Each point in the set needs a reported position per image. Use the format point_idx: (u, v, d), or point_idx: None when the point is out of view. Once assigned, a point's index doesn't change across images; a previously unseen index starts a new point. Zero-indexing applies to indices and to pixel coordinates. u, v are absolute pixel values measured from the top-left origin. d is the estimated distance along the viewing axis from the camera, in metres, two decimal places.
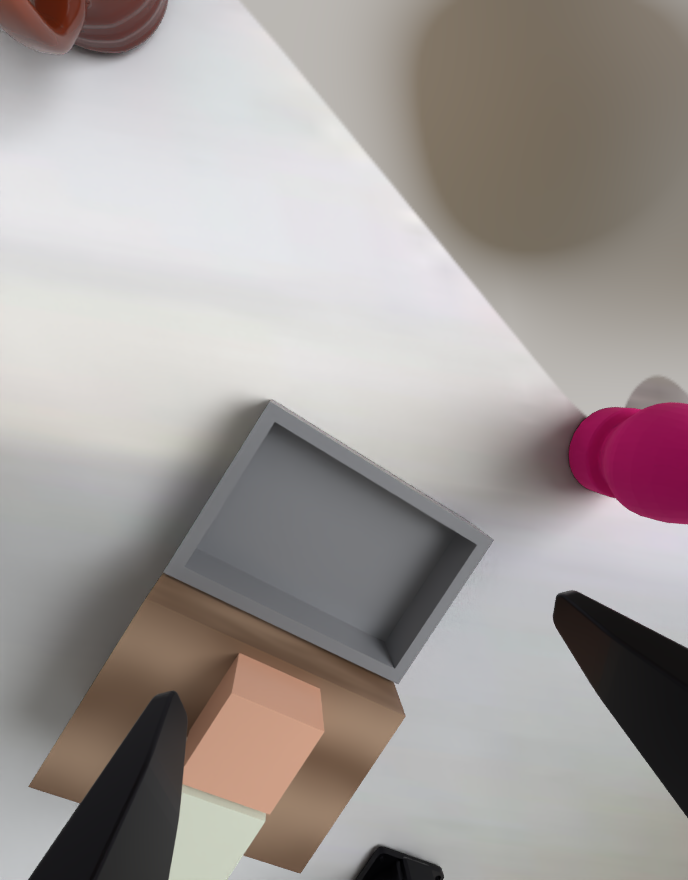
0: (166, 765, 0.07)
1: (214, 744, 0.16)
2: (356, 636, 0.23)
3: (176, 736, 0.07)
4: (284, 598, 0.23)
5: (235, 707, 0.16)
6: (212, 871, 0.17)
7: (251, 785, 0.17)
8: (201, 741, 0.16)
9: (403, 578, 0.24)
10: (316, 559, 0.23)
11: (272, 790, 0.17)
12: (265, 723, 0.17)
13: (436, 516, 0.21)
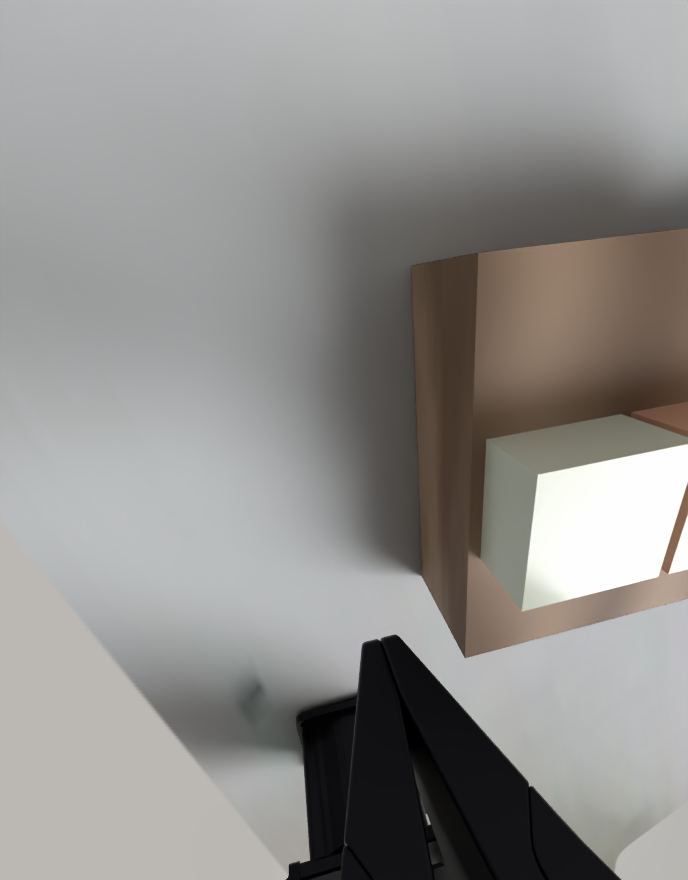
0: None
1: None
2: None
3: None
4: None
5: None
6: (570, 579, 0.11)
7: None
8: None
9: None
10: None
11: None
12: None
13: None
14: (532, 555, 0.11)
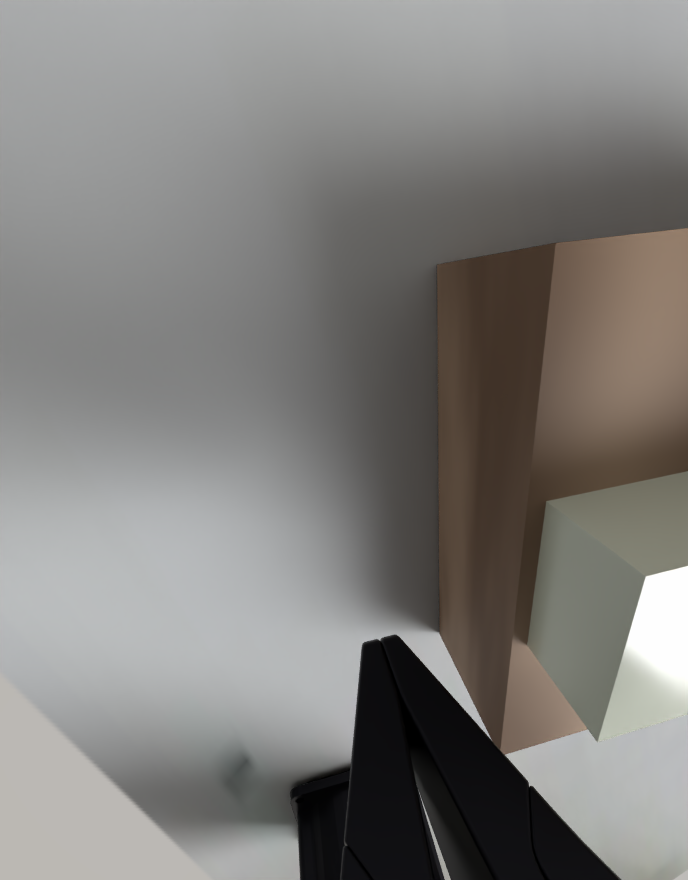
0: None
1: None
2: None
3: None
4: None
5: None
6: (667, 699, 0.08)
7: None
8: None
9: None
10: None
11: None
12: None
13: None
14: (622, 676, 0.07)
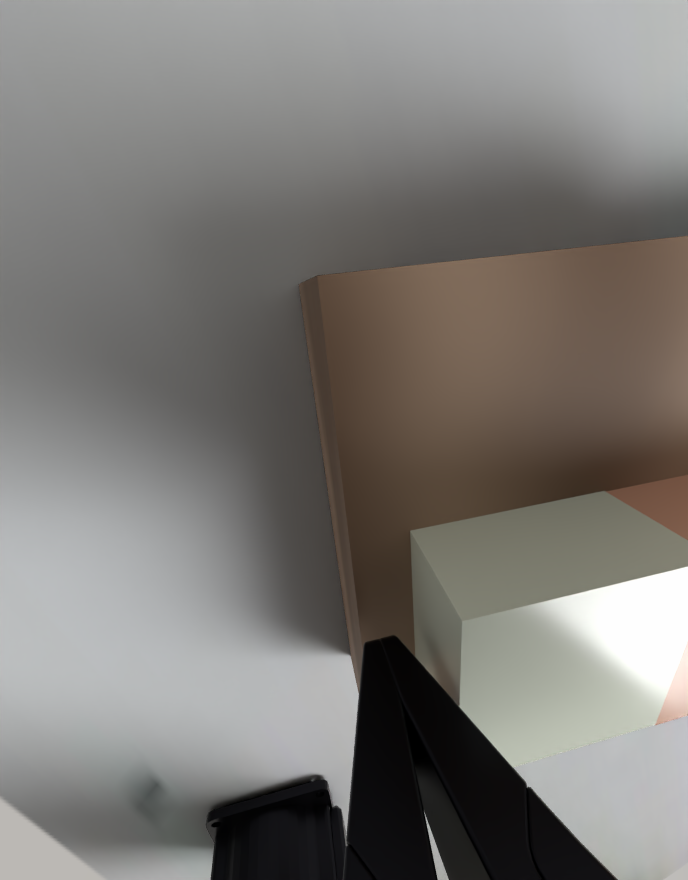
0: None
1: None
2: None
3: None
4: None
5: None
6: (527, 740, 0.08)
7: None
8: None
9: None
10: None
11: None
12: None
13: None
14: None
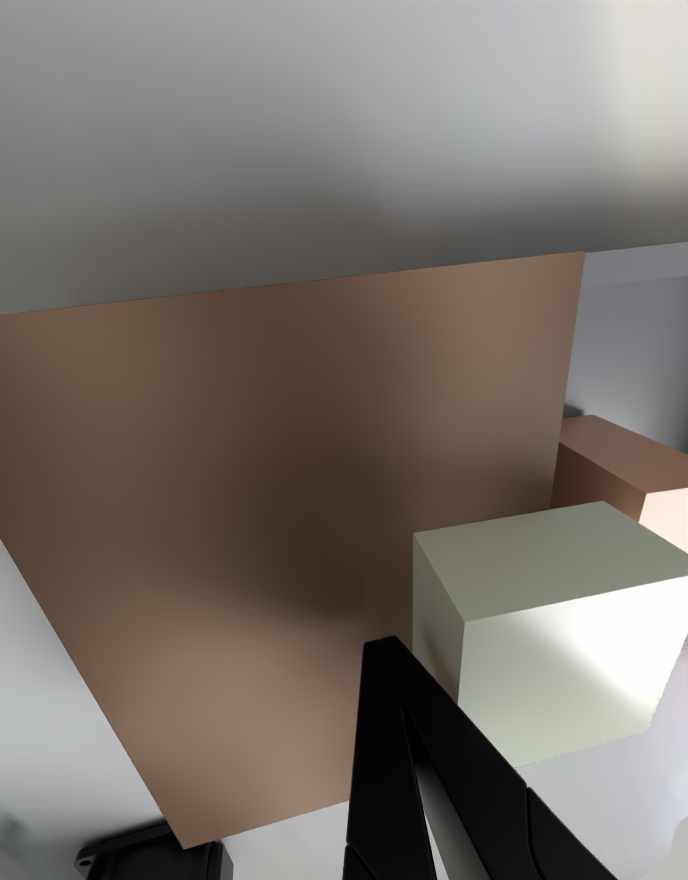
0: None
1: None
2: None
3: None
4: None
5: None
6: (521, 743, 0.08)
7: None
8: (660, 444, 0.11)
9: None
10: None
11: None
12: None
13: None
14: None
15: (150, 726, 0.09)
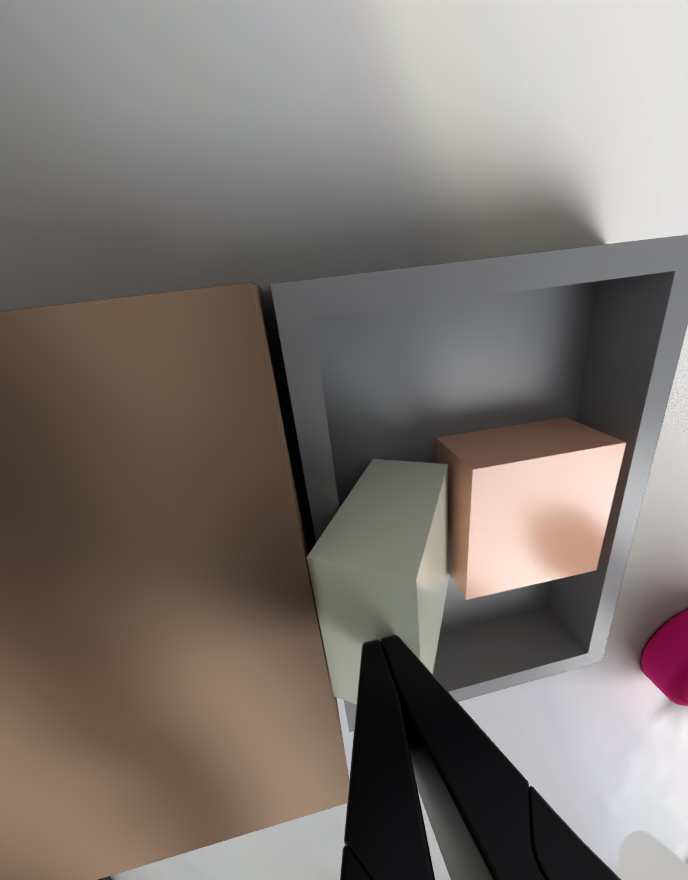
0: None
1: None
2: None
3: None
4: None
5: None
6: (432, 647, 0.10)
7: None
8: (507, 427, 0.13)
9: (451, 607, 0.16)
10: None
11: None
12: None
13: (606, 591, 0.14)
14: None
15: None
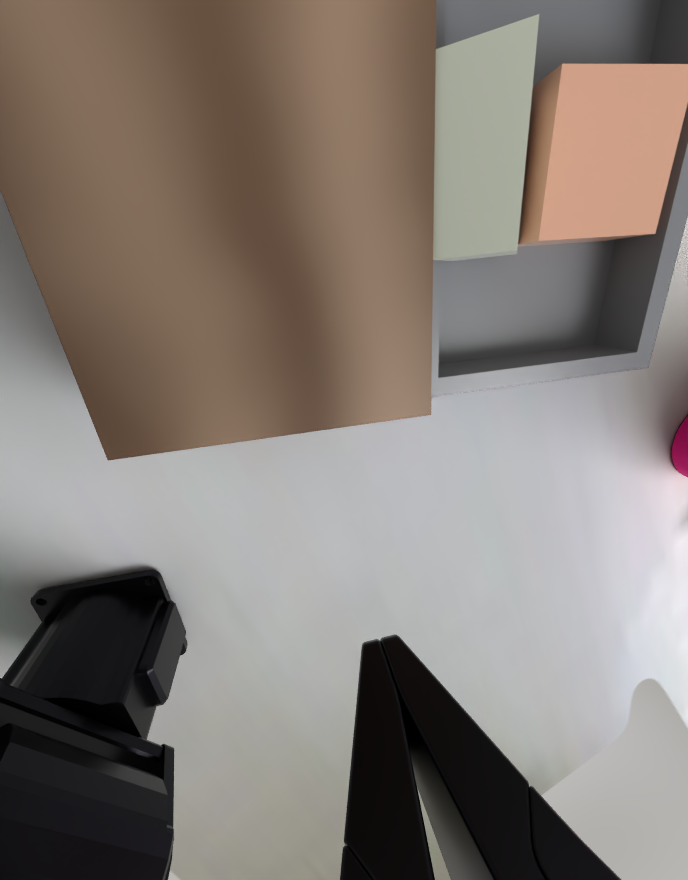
0: None
1: None
2: None
3: None
4: None
5: None
6: None
7: None
8: None
9: (509, 324, 0.17)
10: None
11: None
12: None
13: (660, 269, 0.15)
14: None
15: (60, 256, 0.10)
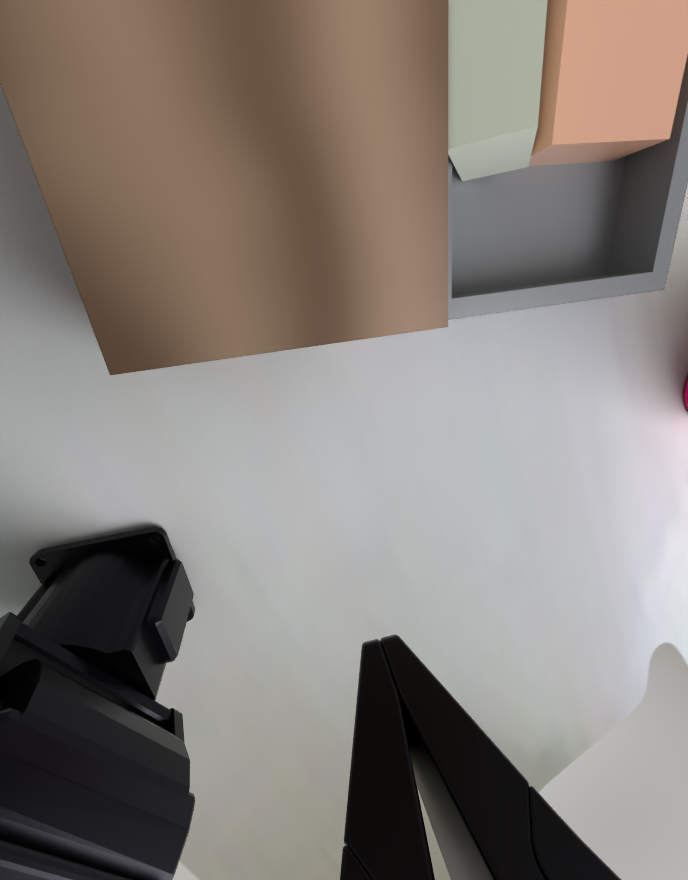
0: None
1: None
2: None
3: None
4: None
5: None
6: None
7: None
8: None
9: (520, 251, 0.17)
10: None
11: None
12: None
13: (675, 180, 0.14)
14: None
15: (55, 134, 0.09)
